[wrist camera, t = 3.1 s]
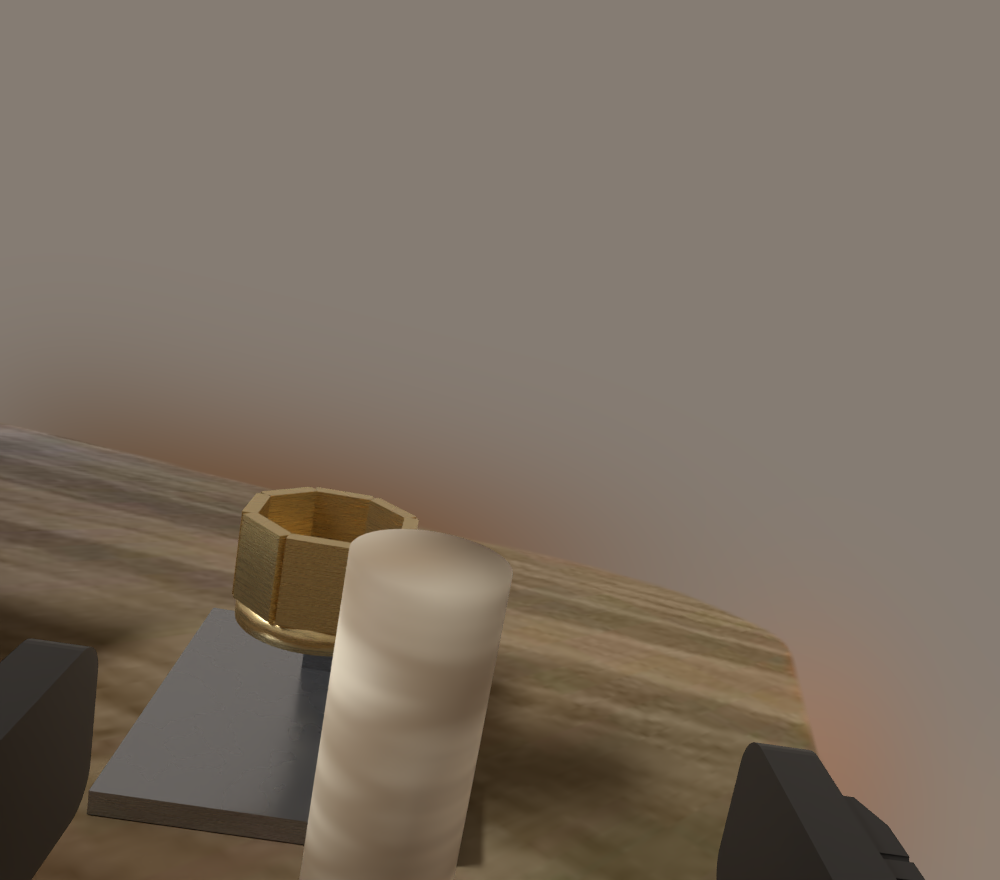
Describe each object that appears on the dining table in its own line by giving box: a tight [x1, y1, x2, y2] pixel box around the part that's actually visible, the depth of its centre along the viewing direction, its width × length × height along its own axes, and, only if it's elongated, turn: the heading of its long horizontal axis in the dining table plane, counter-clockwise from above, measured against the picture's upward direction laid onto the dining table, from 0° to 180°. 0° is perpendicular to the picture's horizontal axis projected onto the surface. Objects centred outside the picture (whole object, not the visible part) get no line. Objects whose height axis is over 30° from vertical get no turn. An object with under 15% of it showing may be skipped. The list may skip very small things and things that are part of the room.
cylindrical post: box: [299, 529, 513, 880], centre depth 25 cm, size 4×4×16 cm
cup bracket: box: [87, 487, 419, 845], centre depth 43 cm, size 17×14×12 cm
